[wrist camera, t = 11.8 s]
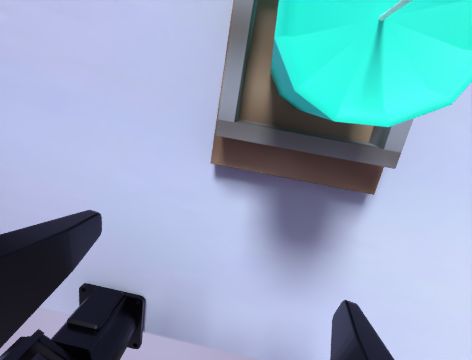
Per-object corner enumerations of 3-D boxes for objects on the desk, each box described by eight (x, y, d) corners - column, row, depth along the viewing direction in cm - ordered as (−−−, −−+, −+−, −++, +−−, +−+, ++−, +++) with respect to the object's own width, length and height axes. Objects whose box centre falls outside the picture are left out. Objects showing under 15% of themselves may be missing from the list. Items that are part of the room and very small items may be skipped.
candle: (386, 69, 17) (650, 3, 5) (306, 130, 18) (371, 183, 7) (330, -14, 16) (501, -322, 4) (251, 58, 17) (219, -23, 6)
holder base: (366, 187, 20) (389, 208, 17) (214, 159, 21) (202, 172, 17) (452, -67, 15) (513, -121, 12) (250, -93, 16) (245, -153, 12)
